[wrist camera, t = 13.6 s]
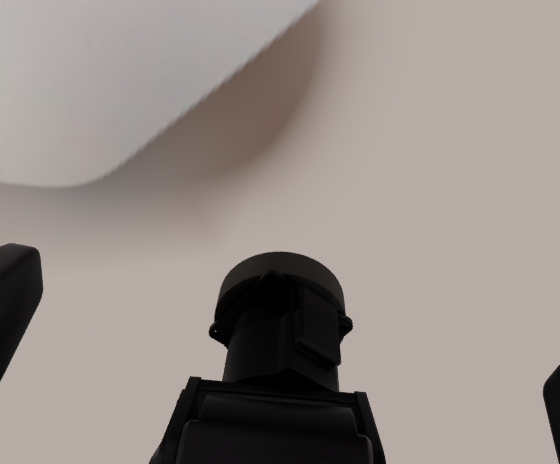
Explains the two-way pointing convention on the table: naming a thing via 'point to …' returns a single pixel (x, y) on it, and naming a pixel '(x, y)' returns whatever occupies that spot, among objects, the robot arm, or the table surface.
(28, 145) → the table surface
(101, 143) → the table surface
